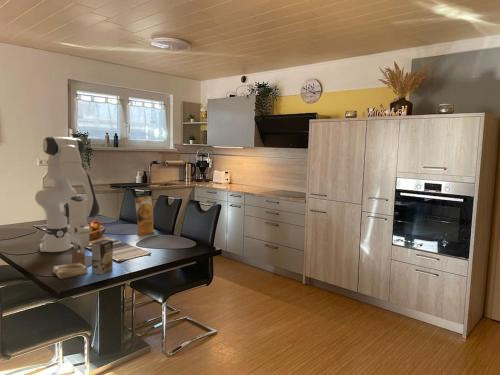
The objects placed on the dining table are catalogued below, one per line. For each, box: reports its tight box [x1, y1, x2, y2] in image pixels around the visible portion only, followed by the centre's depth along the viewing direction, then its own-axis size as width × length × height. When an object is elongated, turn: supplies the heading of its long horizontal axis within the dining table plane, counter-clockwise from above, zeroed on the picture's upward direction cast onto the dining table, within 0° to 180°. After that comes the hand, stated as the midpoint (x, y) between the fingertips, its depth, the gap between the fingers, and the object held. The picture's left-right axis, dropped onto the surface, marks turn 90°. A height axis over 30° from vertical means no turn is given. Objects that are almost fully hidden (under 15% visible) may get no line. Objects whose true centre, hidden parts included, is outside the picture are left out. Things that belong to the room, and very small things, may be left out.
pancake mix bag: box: [134, 195, 154, 236], centre depth 279 cm, size 7×19×28 cm, turn 151°
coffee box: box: [91, 239, 114, 275], centre depth 197 cm, size 9×6×16 cm
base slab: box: [52, 262, 88, 279], centre depth 193 cm, size 12×13×3 cm
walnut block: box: [71, 249, 86, 267], centre depth 204 cm, size 5×5×8 cm
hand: (79, 251), depth 203 cm, fingers open, 8 cm apart
